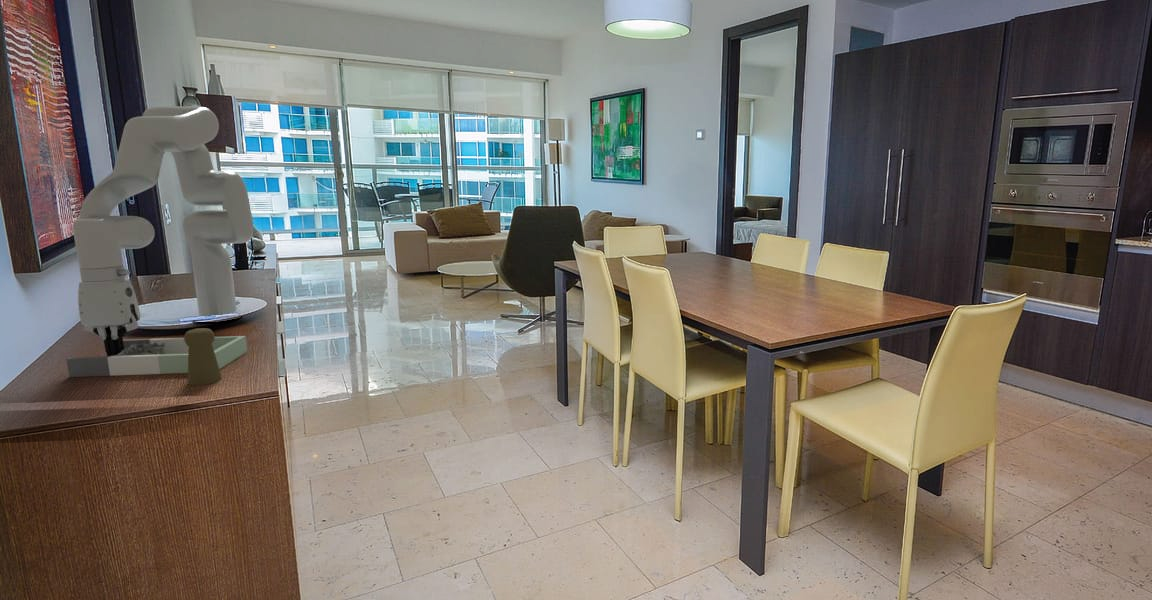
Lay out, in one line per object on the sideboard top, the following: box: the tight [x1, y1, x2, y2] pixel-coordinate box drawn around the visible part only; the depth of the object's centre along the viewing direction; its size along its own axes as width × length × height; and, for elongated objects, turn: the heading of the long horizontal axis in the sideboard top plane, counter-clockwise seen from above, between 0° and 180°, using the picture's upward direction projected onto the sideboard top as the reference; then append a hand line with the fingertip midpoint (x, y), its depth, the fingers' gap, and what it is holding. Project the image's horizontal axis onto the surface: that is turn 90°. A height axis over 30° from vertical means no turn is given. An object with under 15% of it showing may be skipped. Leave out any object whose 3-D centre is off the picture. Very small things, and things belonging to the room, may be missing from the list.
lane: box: [66, 335, 248, 378], centre depth 133 cm, size 16×29×4 cm, turn 96°
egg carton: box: [113, 342, 166, 356], centre depth 131 cm, size 11×8×4 cm
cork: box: [183, 327, 223, 386], centre depth 120 cm, size 6×6×11 cm
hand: (115, 355), depth 131 cm, fingers closed
